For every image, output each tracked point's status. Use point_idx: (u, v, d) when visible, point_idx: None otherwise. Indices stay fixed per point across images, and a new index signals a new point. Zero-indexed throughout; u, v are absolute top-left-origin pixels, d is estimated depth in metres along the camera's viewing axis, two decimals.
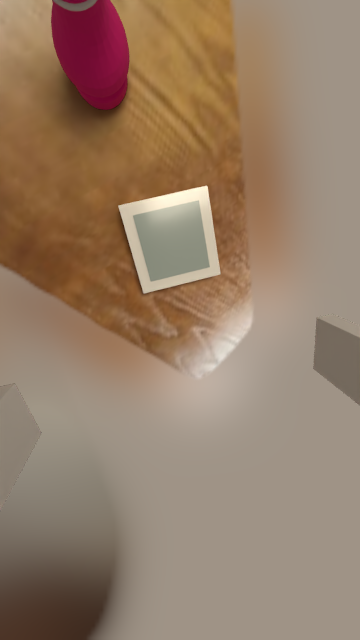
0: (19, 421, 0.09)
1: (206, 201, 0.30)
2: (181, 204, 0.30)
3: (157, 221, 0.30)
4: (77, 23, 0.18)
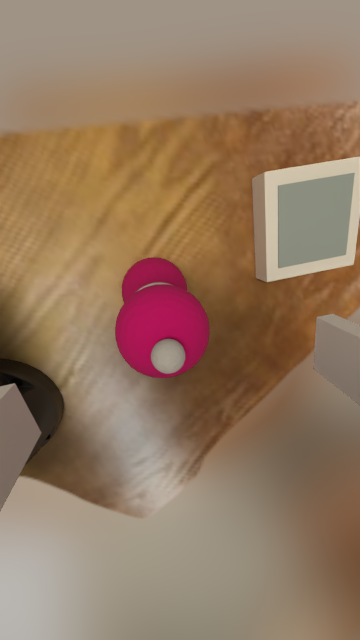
0: (19, 421, 0.09)
1: (280, 173, 0.24)
2: (278, 209, 0.25)
3: (290, 241, 0.27)
4: None
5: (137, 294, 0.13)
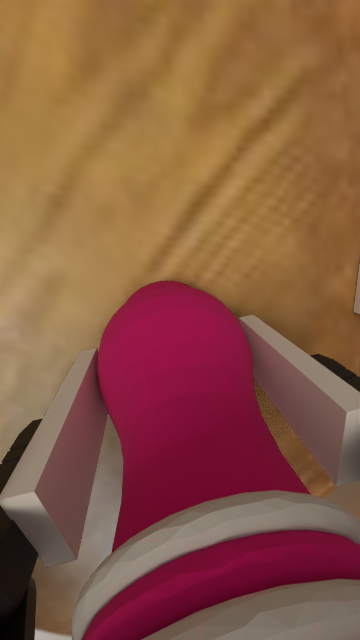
0: None
1: None
2: None
3: None
4: None
5: None
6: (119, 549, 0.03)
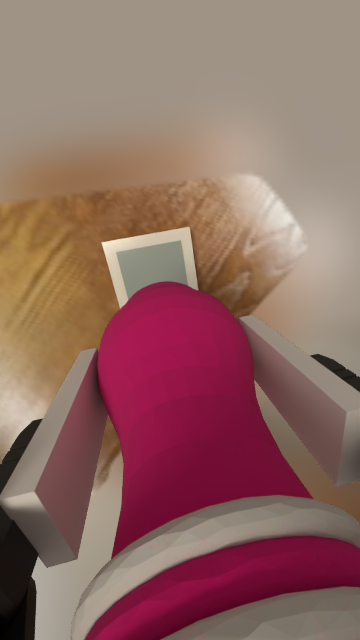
0: None
1: (116, 243, 0.30)
2: (120, 269, 0.31)
3: None
4: None
5: None
6: (119, 555, 0.03)
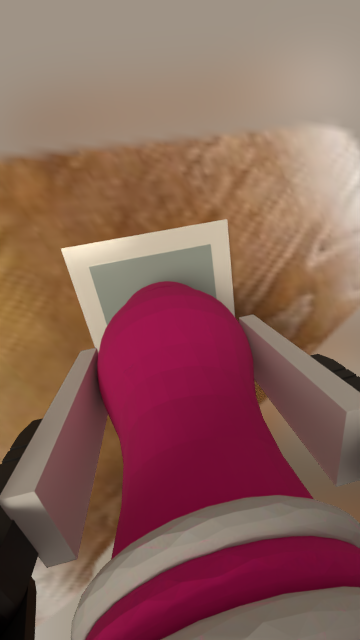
0: None
1: (89, 250, 0.16)
2: (99, 298, 0.17)
3: None
4: None
5: None
6: (119, 555, 0.03)
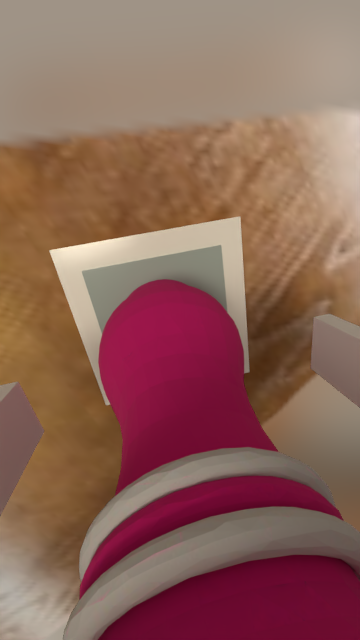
0: (22, 419, 0.09)
1: (82, 251, 0.14)
2: (93, 306, 0.15)
3: None
4: None
5: None
6: (119, 493, 0.04)
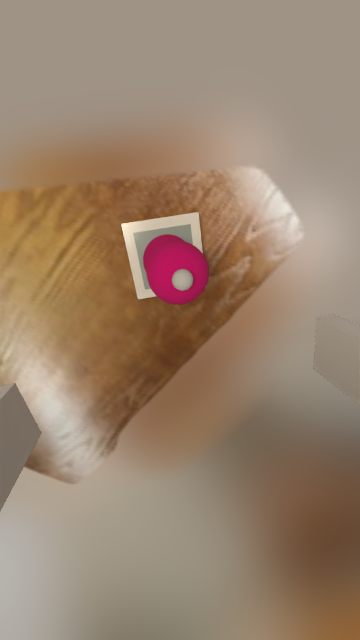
0: (19, 421, 0.09)
1: (133, 224, 0.34)
2: (136, 248, 0.35)
3: None
4: None
5: (162, 245, 0.20)
6: None
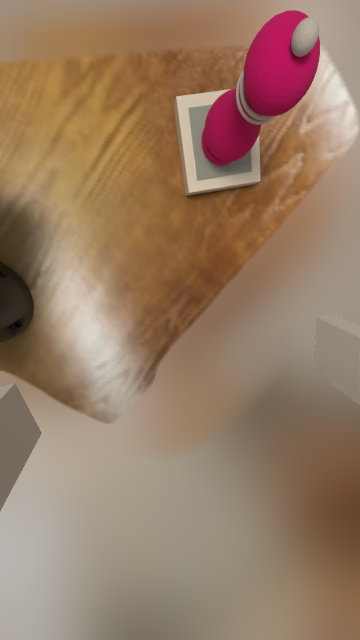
0: (19, 421, 0.09)
1: (189, 98, 0.32)
2: (191, 128, 0.33)
3: (203, 156, 0.34)
4: None
5: None
6: None
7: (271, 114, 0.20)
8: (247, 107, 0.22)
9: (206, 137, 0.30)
